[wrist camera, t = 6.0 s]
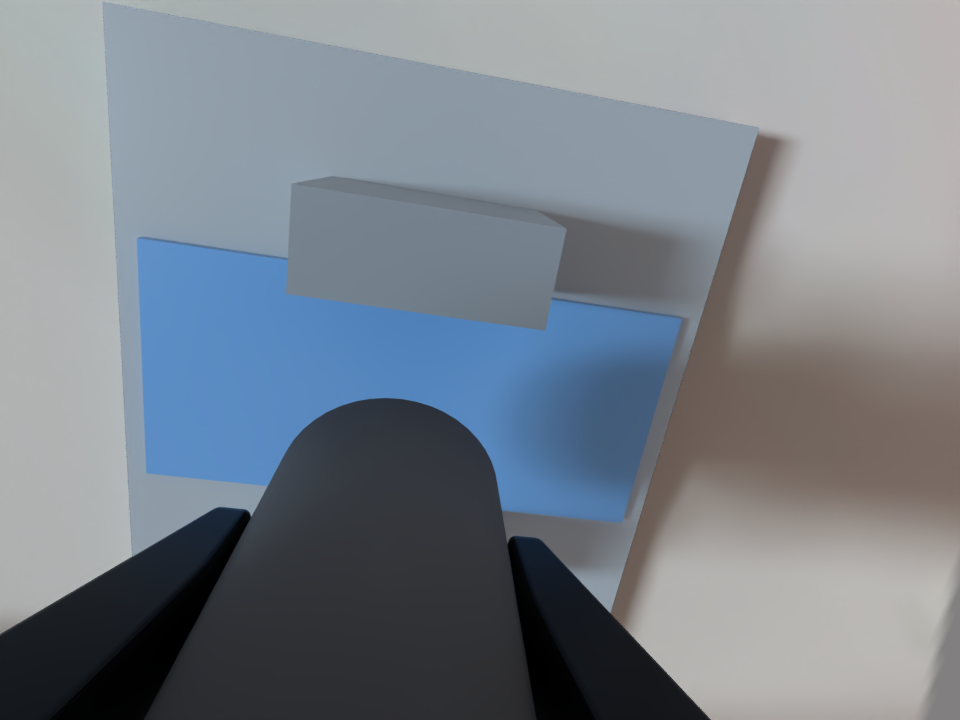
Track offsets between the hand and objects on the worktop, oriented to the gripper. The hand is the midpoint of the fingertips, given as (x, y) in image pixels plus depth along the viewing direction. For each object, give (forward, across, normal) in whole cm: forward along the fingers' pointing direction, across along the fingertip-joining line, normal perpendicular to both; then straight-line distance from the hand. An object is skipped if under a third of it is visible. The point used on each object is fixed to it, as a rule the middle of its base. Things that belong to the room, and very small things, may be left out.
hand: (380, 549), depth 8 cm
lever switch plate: (+6, 0, +3) cm, 7 cm away
